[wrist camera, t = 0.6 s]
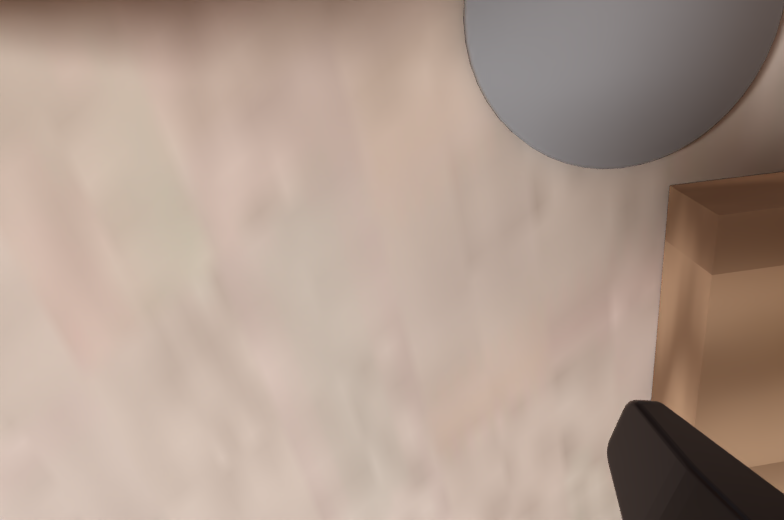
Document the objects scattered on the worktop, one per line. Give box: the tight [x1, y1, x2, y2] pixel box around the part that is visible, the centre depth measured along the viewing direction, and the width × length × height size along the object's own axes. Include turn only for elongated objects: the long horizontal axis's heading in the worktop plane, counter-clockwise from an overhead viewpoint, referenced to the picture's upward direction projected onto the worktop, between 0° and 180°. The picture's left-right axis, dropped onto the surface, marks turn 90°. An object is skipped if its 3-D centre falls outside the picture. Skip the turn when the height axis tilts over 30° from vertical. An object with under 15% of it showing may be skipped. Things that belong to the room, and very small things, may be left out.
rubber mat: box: [463, 0, 784, 169], centre depth 22 cm, size 10×10×1 cm
